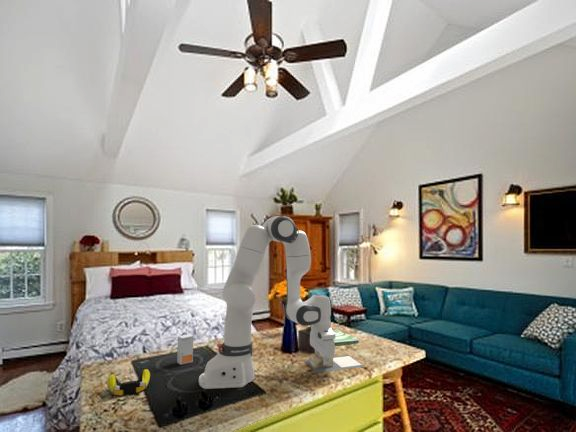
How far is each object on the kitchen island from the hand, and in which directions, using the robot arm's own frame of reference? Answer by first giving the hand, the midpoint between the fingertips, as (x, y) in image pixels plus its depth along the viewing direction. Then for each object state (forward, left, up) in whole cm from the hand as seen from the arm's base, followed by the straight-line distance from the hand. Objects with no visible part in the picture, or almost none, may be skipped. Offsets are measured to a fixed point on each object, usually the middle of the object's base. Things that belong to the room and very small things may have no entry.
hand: (321, 361), depth 157 cm
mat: (+6, 0, -2) cm, 6 cm away
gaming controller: (-79, 0, -2) cm, 79 cm away
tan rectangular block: (0, 0, -1) cm, 1 cm away
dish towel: (+24, +36, -2) cm, 43 cm away
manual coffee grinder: (+4, +25, -2) cm, 25 cm away
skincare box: (-58, +23, -2) cm, 62 cm away
